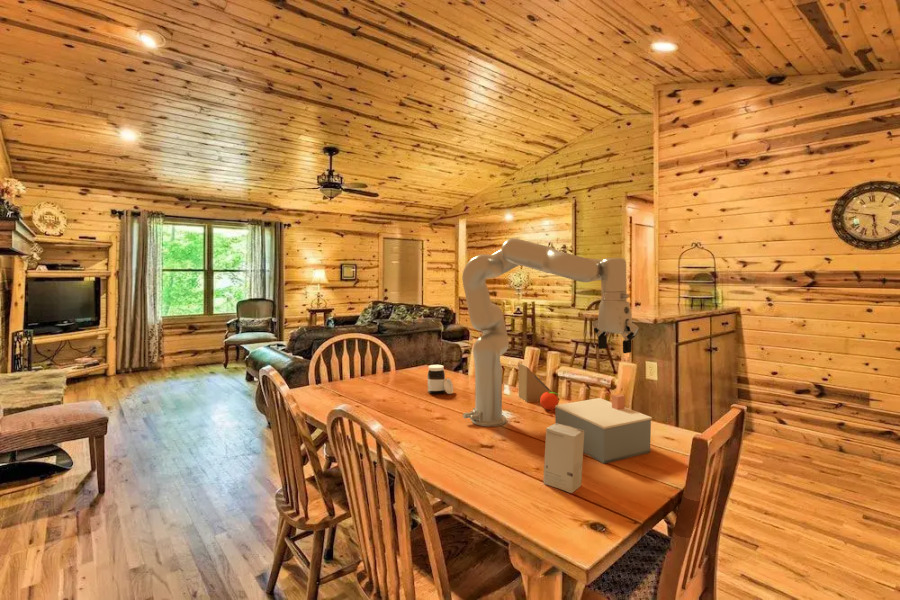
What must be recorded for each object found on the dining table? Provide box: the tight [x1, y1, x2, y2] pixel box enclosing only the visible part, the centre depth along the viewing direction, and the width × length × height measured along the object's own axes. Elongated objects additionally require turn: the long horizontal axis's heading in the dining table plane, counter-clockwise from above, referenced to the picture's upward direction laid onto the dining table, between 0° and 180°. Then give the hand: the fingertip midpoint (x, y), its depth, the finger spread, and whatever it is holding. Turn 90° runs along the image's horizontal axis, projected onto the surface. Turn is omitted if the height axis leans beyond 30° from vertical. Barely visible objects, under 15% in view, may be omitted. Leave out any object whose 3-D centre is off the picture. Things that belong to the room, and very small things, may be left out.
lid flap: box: [555, 393, 653, 429], centre depth 141 cm, size 18×22×5 cm
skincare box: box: [543, 423, 584, 494], centre depth 116 cm, size 8×6×15 cm
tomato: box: [539, 391, 559, 411], centre depth 176 cm, size 8×7×7 cm
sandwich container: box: [518, 362, 560, 403], centre depth 192 cm, size 9×15×15 cm, turn 105°
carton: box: [554, 407, 652, 465], centre depth 141 cm, size 18×22×10 cm
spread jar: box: [427, 364, 454, 395], centre depth 202 cm, size 12×11×12 cm
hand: (614, 350), depth 145 cm, fingers open, 9 cm apart
